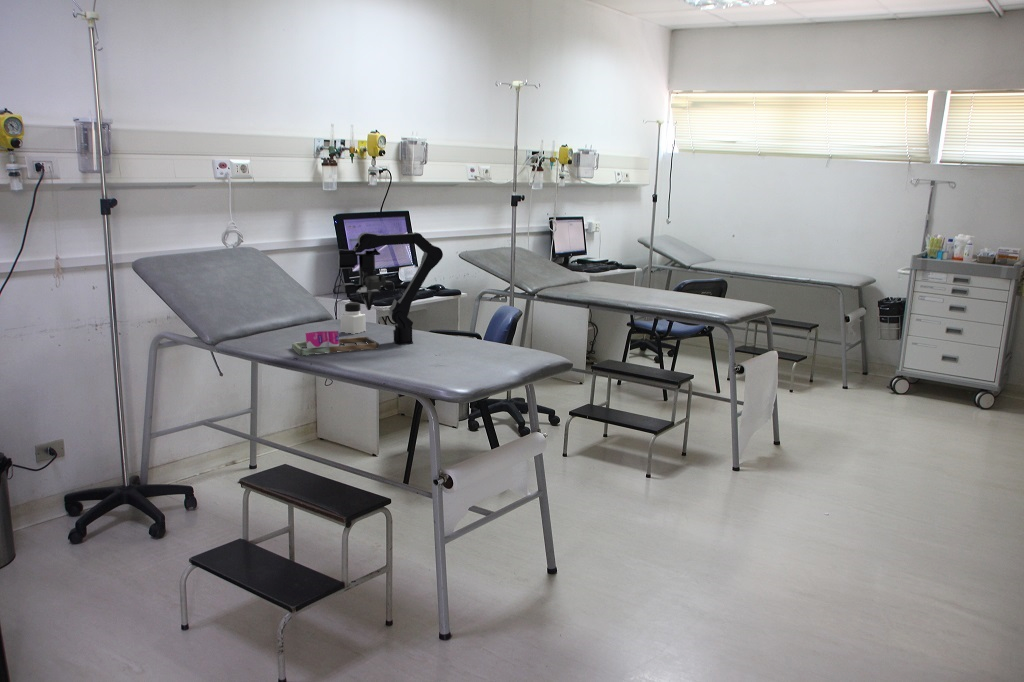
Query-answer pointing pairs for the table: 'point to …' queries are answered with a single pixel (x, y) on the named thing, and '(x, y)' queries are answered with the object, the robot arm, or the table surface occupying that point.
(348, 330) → the medicine bottle
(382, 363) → the table surface
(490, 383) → the table surface
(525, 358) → the table surface
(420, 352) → the table surface
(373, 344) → the box
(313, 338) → the supplement box
